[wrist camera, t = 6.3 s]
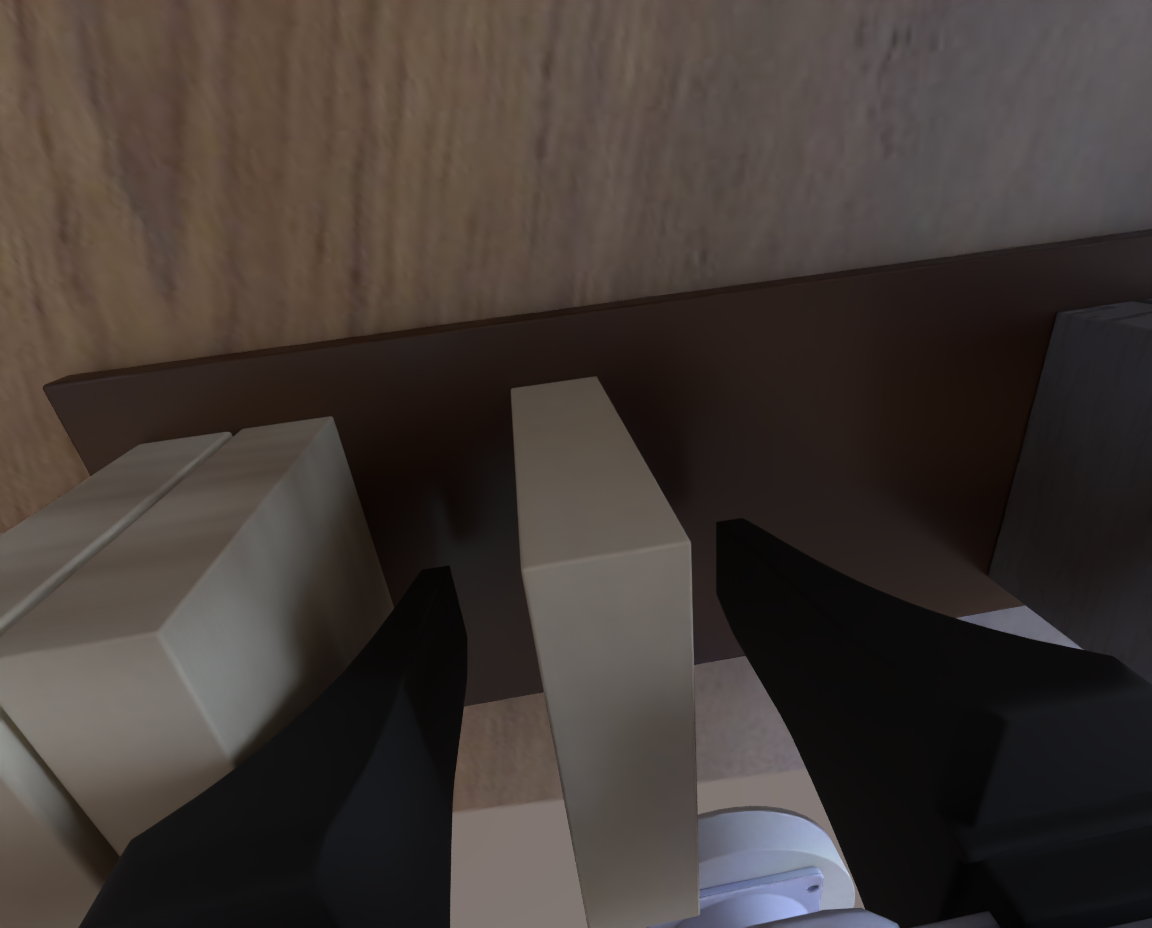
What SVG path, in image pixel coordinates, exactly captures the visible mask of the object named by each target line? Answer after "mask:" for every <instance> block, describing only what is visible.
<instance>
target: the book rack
mask: <svg viewBox="0 0 1152 928" xmlns="http://www.w3.org/2000/svg"><path fill="white" fill-rule="evenodd" d="M594 376H595V377H597V378H598V380H599V382H600V384H601V385H602V387H603V389H604V391H605V392H606V394H607V396H608V398H609V399H610V401H611V403H612V405H613V406H614V408H615V410H616V412H617V413H618V415H619V417H620V419H621V420H622V422H623V424H624V426H625V427H626V429H627V431H628V433H629V434H630V436H631V438H632V440H633V441H634V443H635V445H636V447H637V449H638V450H639V452H640V454H641V456H642V457H643V459H644V461H645V463H646V464H647V466H648V468H649V470H650V471H651V473H652V475H653V477H654V478H655V480H656V482H657V484H658V485H659V487H660V489H661V491H662V492H663V494H664V496H665V498H666V499H667V501H668V503H669V505H670V506H671V508H672V510H673V512H674V514H675V515H676V517H677V519H678V521H679V522H680V524H681V526H682V528H683V529H684V531H685V533H686V535H687V536H688V538H689V540H690V542H691V564H692V606H693V648H694V665H697V664H702V663H708V662H714V661H719V660H725V659H730V658H736V657H741V656H746V655H745V654H744V652H743V650H742V648H741V647H740V645H739V643H738V641H737V640H736V638H735V636H734V634H733V633H732V631H731V628H730V626H729V624H728V621H727V619H726V617H725V614H724V612H723V609H722V607H721V604H720V602H719V599H718V597H717V594H716V522H719V521H726V520H732V519H738V518H743V519H745V520H747V521H749V522H751V523H753V524H755V525H756V526H758V527H760V528H762V529H763V530H765V531H767V532H768V533H770V534H772V535H774V536H775V537H777V538H779V539H780V540H782V541H784V542H785V543H787V544H789V545H791V546H792V547H794V548H796V549H798V550H799V551H801V552H803V553H805V554H807V555H808V556H810V557H812V558H814V559H816V560H817V561H819V562H821V563H823V564H825V565H827V566H829V567H831V568H833V569H835V570H837V571H839V572H841V573H843V574H845V575H847V576H849V577H851V578H853V579H855V580H857V581H859V582H861V583H864V584H866V585H868V586H870V587H873V588H875V589H877V590H880V591H882V592H885V593H887V594H890V595H892V596H894V597H897V598H899V599H902V600H904V601H907V602H909V603H912V604H915V605H918V606H920V607H923V608H926V609H929V610H932V611H935V612H938V613H941V614H944V615H947V616H950V617H953V618H958V617H963V616H969V615H974V614H980V613H985V612H991V611H997V610H1002V609H1008V608H1013V607H1019V606H1024V605H1026V606H1027V607H1028V608H1030V609H1031V610H1032V611H1034V612H1035V613H1036V614H1038V615H1039V616H1040V617H1042V618H1043V619H1044V620H1046V621H1047V622H1048V623H1049V624H1051V625H1052V626H1053V627H1055V628H1056V629H1057V630H1059V631H1060V632H1061V633H1063V634H1064V635H1065V636H1067V637H1068V638H1069V639H1071V640H1072V641H1073V642H1075V643H1076V644H1077V645H1078V646H1080V647H1081V648H1082V649H1084V650H1086V651H1091V652H1096V653H1101V654H1106V655H1111V656H1114V657H1115V658H1117V659H1118V660H1119V661H1121V662H1122V663H1124V664H1125V665H1126V666H1128V667H1129V668H1130V669H1132V670H1133V671H1134V672H1136V673H1137V674H1138V675H1140V676H1141V677H1143V678H1144V679H1145V680H1147V681H1148V682H1149V683H1151V684H1152V229H1150V230H1142V231H1135V232H1127V233H1120V234H1113V235H1105V236H1098V237H1090V238H1083V239H1076V240H1068V241H1061V242H1053V243H1046V244H1039V245H1031V246H1024V247H1016V248H1009V249H1002V250H994V251H987V252H979V253H972V254H965V255H957V256H950V257H942V258H935V259H928V260H920V261H913V262H905V263H898V264H891V265H883V266H876V267H868V268H861V269H854V270H846V271H839V272H832V273H824V274H817V275H809V276H802V277H795V278H787V279H780V280H772V281H765V282H758V283H750V284H743V285H735V286H728V287H721V288H713V289H706V290H698V291H691V292H684V293H676V294H669V295H661V296H654V297H647V298H639V299H632V300H624V301H617V302H610V303H602V304H595V305H587V306H580V307H573V308H565V309H558V310H550V311H543V312H536V313H528V314H521V315H513V316H506V317H499V318H491V319H484V320H476V321H469V322H462V323H454V324H447V325H439V326H432V327H425V328H417V329H410V330H402V331H395V332H388V333H380V334H373V335H365V336H358V337H351V338H343V339H336V340H329V341H321V342H314V343H306V344H299V345H292V346H284V347H277V348H269V349H262V350H255V351H247V352H240V353H232V354H225V355H218V356H210V357H203V358H195V359H188V360H181V361H173V362H166V363H158V364H151V365H144V366H136V367H129V368H121V369H114V370H107V371H99V372H92V373H84V374H77V375H70V376H66V377H63V378H61V379H58V380H55V381H53V382H50V383H48V384H45V385H44V386H43V390H44V392H45V394H46V396H47V398H48V399H49V401H50V403H51V405H52V407H53V408H54V410H55V412H56V414H57V416H58V418H59V419H60V421H61V423H62V425H63V427H64V428H65V430H66V432H67V434H68V436H69V438H70V439H71V441H72V443H73V445H74V447H75V448H76V450H77V452H78V454H79V456H80V458H81V459H82V461H83V463H84V465H85V467H86V468H87V470H88V472H89V474H90V477H89V478H87V479H86V480H84V481H83V482H81V483H80V484H78V485H77V486H75V487H74V488H72V489H71V490H69V491H67V492H66V493H64V494H63V495H61V496H60V497H58V498H57V499H55V500H54V501H52V502H51V503H49V504H48V505H46V506H45V507H43V508H42V509H40V510H39V511H37V512H35V513H34V514H32V515H31V516H29V517H28V518H26V519H25V520H23V521H22V522H20V523H19V524H17V525H16V526H14V527H13V528H11V529H10V530H8V531H7V532H5V533H4V534H2V535H0V928H79V926H80V924H81V922H82V921H83V919H84V917H85V916H86V914H87V912H88V910H89V909H90V907H91V905H92V904H93V902H94V900H95V898H96V897H97V895H98V893H99V892H100V890H101V888H102V887H103V885H104V883H105V881H106V880H107V878H108V876H109V875H110V873H111V871H112V870H113V868H114V866H115V865H116V863H117V861H118V860H119V858H120V856H121V855H122V853H123V851H124V850H125V848H126V847H127V845H128V844H129V842H130V840H131V839H133V838H135V837H136V836H138V835H139V834H141V833H143V832H144V831H146V830H147V829H149V828H150V827H152V826H153V825H155V824H156V823H158V822H159V821H161V820H162V819H164V818H165V817H167V816H168V815H170V814H171V813H173V812H174V811H176V810H177V809H179V808H180V807H182V806H183V805H185V804H186V803H188V802H189V801H191V800H192V799H194V798H195V797H197V796H198V795H199V794H201V793H202V792H204V791H205V790H206V789H208V788H209V787H211V786H212V785H213V784H215V783H216V782H218V781H219V780H220V779H222V778H223V777H224V776H226V775H227V774H228V773H230V772H231V771H232V770H234V769H235V768H236V767H238V766H239V765H240V764H242V763H243V762H244V761H245V760H247V759H248V758H249V757H250V756H252V755H253V754H254V753H255V752H257V751H258V750H259V749H261V748H262V747H263V746H264V745H265V744H267V743H268V742H269V741H270V740H271V739H272V738H274V737H275V736H276V735H277V734H278V733H279V732H280V731H282V730H283V729H284V728H285V727H286V726H287V725H288V724H289V723H291V722H292V721H293V720H294V719H295V718H296V717H297V716H299V715H300V714H301V713H302V712H303V711H304V710H305V709H307V708H308V707H309V706H310V705H311V704H312V703H313V702H314V701H315V700H316V699H317V698H318V697H319V696H320V695H321V694H322V693H323V692H324V691H325V690H326V689H327V688H328V687H329V686H330V685H331V684H332V683H333V682H334V681H335V680H336V679H337V678H338V677H339V676H340V674H341V673H342V672H343V671H344V670H345V669H346V668H347V667H348V666H349V665H350V663H351V662H352V661H353V660H354V659H355V657H356V656H357V655H358V654H359V653H360V651H361V650H362V649H363V648H364V647H365V645H366V644H367V643H368V642H369V641H370V639H371V638H372V637H373V636H374V634H375V633H376V632H377V630H378V629H379V628H380V626H381V625H382V624H383V622H384V621H385V620H386V619H387V617H388V616H389V615H390V613H391V612H392V611H393V609H394V608H395V606H396V605H397V604H398V602H399V601H400V599H401V598H402V597H403V595H404V594H405V592H406V591H407V589H408V588H409V587H410V585H411V584H412V582H413V581H414V580H415V578H416V577H417V576H418V574H419V573H420V572H421V570H423V569H429V568H436V567H442V566H448V565H450V569H451V573H452V577H453V581H454V585H455V589H456V593H457V597H458V601H459V605H460V609H461V613H462V617H463V621H464V625H465V628H466V632H467V647H468V664H467V685H466V693H465V701H464V706H469V705H475V704H480V703H486V702H492V701H497V700H503V699H508V698H514V697H519V696H525V695H530V694H536V693H542V692H544V690H543V685H542V680H541V674H540V669H539V664H538V658H537V653H536V648H535V642H534V637H533V632H532V626H531V621H530V616H529V610H528V605H527V600H526V594H525V589H524V584H523V578H522V573H521V561H520V544H519V526H518V509H517V491H516V474H515V456H514V439H513V422H512V404H511V389H512V388H518V387H525V386H532V385H539V384H546V383H553V382H560V381H567V380H574V379H581V378H588V377H594Z"/></svg>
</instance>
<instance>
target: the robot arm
mask: <svg viewBox="0 0 1152 928" xmlns="http://www.w3.org/2000/svg"><path fill="white" fill-rule="evenodd" d="M716 594H717V597H718V599H719V602H720V604H721V607H722V609H723V612H724V614H725V617H726V619H727V621H728V624H729V626H730V628H731V631H732V633H733V634H734V636H735V638H736V640H737V641H738V643H739V645H740V647H741V648H742V650H743V652H744V654H745V655H746V657H747V659H748V661H749V662H750V664H751V666H752V667H753V669H754V671H755V672H756V674H757V676H758V678H759V679H760V681H761V683H762V684H763V686H764V688H765V689H766V691H767V693H768V695H769V696H770V698H771V700H772V701H773V703H774V705H775V707H776V708H777V710H778V712H779V713H780V715H781V717H782V719H783V721H784V723H785V724H786V726H787V728H788V730H789V732H790V734H791V736H792V738H793V740H794V742H795V745H796V747H797V749H798V751H799V753H800V756H801V758H802V760H803V762H804V764H805V766H806V769H807V771H808V773H809V775H810V777H811V779H812V782H813V784H814V786H815V789H816V791H817V793H818V796H819V798H820V800H821V802H822V805H823V807H824V809H825V812H826V814H827V816H828V818H829V821H830V823H831V826H832V828H833V830H834V833H835V835H836V838H837V840H838V842H839V845H840V847H841V850H842V852H843V855H844V857H845V859H846V862H847V864H848V867H849V869H850V872H851V874H852V876H853V879H854V881H855V884H856V886H857V889H858V891H859V894H860V897H861V899H862V902H863V904H864V907H865V909H863V908H850V909H833V910H822V911H819V908H820V901H821V894H822V887H823V880H824V878H823V875H822V873H821V871H820V869H819V868H817V867H814V866H812V867H806V868H801V869H796V870H792V871H787V872H782V873H777V874H772V875H767V876H763V877H758V878H753V879H748V880H743V881H738V882H734V883H729V884H724V885H719V886H714V887H710V888H705V889H700V890H699V898H700V915H699V916H696V917H691V918H686V919H682V920H677V921H672V922H667V923H663V924H658V925H653V926H648V928H1152V684H1151V683H1149V682H1148V681H1147V680H1145V679H1144V678H1143V677H1141V676H1140V675H1138V674H1137V673H1136V672H1134V671H1133V670H1132V669H1130V668H1129V667H1128V666H1126V665H1125V664H1124V663H1122V662H1121V661H1119V660H1118V659H1117V658H1115V657H1114V656H1111V655H1106V654H1101V653H1096V652H1091V651H1086V650H1081V649H1076V648H1071V647H1066V646H1061V645H1056V644H1051V643H1046V642H1041V641H1037V640H1033V639H1029V638H1025V637H1021V636H1017V635H1013V634H1009V633H1005V632H1001V631H997V630H993V629H990V628H986V627H983V626H979V625H976V624H972V623H969V622H966V621H962V620H959V619H956V618H953V617H950V616H947V615H944V614H941V613H938V612H935V611H932V610H929V609H926V608H923V607H920V606H918V605H915V604H912V603H909V602H907V601H904V600H902V599H899V598H897V597H894V596H892V595H890V594H887V593H885V592H882V591H880V590H877V589H875V588H873V587H870V586H868V585H866V584H864V583H861V582H859V581H857V580H855V579H853V578H851V577H849V576H847V575H845V574H843V573H841V572H839V571H837V570H835V569H833V568H831V567H829V566H827V565H825V564H823V563H821V562H819V561H817V560H816V559H814V558H812V557H810V556H808V555H807V554H805V553H803V552H801V551H799V550H798V549H796V548H794V547H792V546H791V545H789V544H787V543H785V542H784V541H782V540H780V539H779V538H777V537H775V536H774V535H772V534H770V533H768V532H767V531H765V530H763V529H762V528H760V527H758V526H756V525H755V524H753V523H751V522H749V521H747V520H745V519H743V518H738V519H732V520H726V521H719V522H716ZM467 664H468V647H467V632H466V628H465V625H464V621H463V617H462V613H461V609H460V605H459V601H458V597H457V593H456V589H455V585H454V581H453V577H452V573H451V569H450V565H448V566H442V567H436V568H429V569H423V570H421V572H420V573H419V574H418V576H417V577H416V578H415V580H414V581H413V582H412V584H411V585H410V587H409V588H408V589H407V591H406V592H405V594H404V595H403V597H402V598H401V599H400V601H399V602H398V604H397V605H396V606H395V608H394V609H393V611H392V612H391V613H390V615H389V616H388V617H387V619H386V620H385V621H384V622H383V624H382V625H381V626H380V628H379V629H378V630H377V632H376V633H375V634H374V636H373V637H372V638H371V639H370V641H369V642H368V643H367V644H366V645H365V647H364V648H363V649H362V650H361V651H360V653H359V654H358V655H357V656H356V657H355V659H354V660H353V661H352V662H351V663H350V665H349V666H348V667H347V668H346V669H345V670H344V671H343V672H342V673H341V674H340V676H339V677H338V678H337V679H336V680H335V681H334V682H333V683H332V684H331V685H330V686H329V687H328V688H327V689H326V690H325V691H324V692H323V693H322V694H321V695H320V696H319V697H318V698H317V699H316V700H315V701H314V702H313V703H312V704H311V705H310V706H309V707H308V708H307V709H305V710H304V711H303V712H302V713H301V714H300V715H299V716H297V717H296V718H295V719H294V720H293V721H292V722H291V723H289V724H288V725H287V726H286V727H285V728H284V729H283V730H282V731H280V732H279V733H278V734H277V735H276V736H275V737H274V738H272V739H271V740H270V741H269V742H268V743H267V744H265V745H264V746H263V747H262V748H261V749H259V750H258V751H257V752H255V753H254V754H253V755H252V756H250V757H249V758H248V759H247V760H245V761H244V762H243V763H242V764H240V765H239V766H238V767H236V768H235V769H234V770H232V771H231V772H230V773H228V774H227V775H226V776H224V777H223V778H222V779H220V780H219V781H218V782H216V783H215V784H213V785H212V786H211V787H209V788H208V789H206V790H205V791H204V792H202V793H201V794H199V795H198V796H197V797H195V798H194V799H192V800H191V801H189V802H188V803H186V804H185V805H183V806H182V807H180V808H179V809H177V810H176V811H174V812H173V813H171V814H170V815H168V816H167V817H165V818H164V819H162V820H161V821H159V822H158V823H156V824H155V825H153V826H152V827H150V828H149V829H147V830H146V831H144V832H143V833H141V834H139V835H138V836H136V837H135V838H133V839H131V840H130V842H129V844H128V845H127V847H126V848H125V850H124V851H123V853H122V855H121V856H120V858H119V860H118V861H117V863H116V865H115V866H114V868H113V870H112V871H111V873H110V875H109V876H108V878H107V880H106V881H105V883H104V885H103V887H102V888H101V890H100V892H99V893H98V895H97V897H96V898H95V900H94V902H93V904H92V905H91V907H90V909H89V910H88V912H87V914H86V916H85V917H84V919H83V921H82V922H81V924H80V926H79V928H450V884H451V883H450V882H451V838H452V808H453V791H454V779H455V771H456V763H457V755H458V748H459V740H460V732H461V725H462V717H463V709H464V701H465V693H466V685H467Z"/></svg>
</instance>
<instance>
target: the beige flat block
mask: <svg viewBox="0 0 1152 928" xmlns="http://www.w3.org/2000/svg"><path fill="white" fill-rule="evenodd" d="M511 404H512V422H513V439H514V456H515V474H516V491H517V509H518V526H519V544H520V561H521V573H522V578H523V584H524V589H525V594H526V600H527V605H528V610H529V616H530V621H531V626H532V632H533V637H534V642H535V648H536V653H537V658H538V664H539V669H540V674H541V680H542V685H543V690H544V696H545V701H546V706H547V712H548V717H549V722H550V728H551V733H552V738H553V744H554V749H555V754H556V760H557V765H558V770H559V776H560V781H561V786H562V792H563V797H564V802H565V808H566V813H567V818H568V824H569V829H570V834H571V839H572V845H573V850H574V856H575V861H576V866H577V872H578V877H579V882H580V887H581V893H582V898H583V904H584V909H585V914H586V920H587V925H588V928H644V927H648V926H653V925H658V924H663V923H667V922H672V921H677V920H682V919H686V918H691V917H696V916H699V915H700V898H699V856H698V814H697V773H696V731H695V689H694V648H693V606H692V564H691V542H690V540H689V538H688V536H687V535H686V533H685V531H684V529H683V528H682V526H681V524H680V522H679V521H678V519H677V517H676V515H675V514H674V512H673V510H672V508H671V506H670V505H669V503H668V501H667V499H666V498H665V496H664V494H663V492H662V491H661V489H660V487H659V485H658V484H657V482H656V480H655V478H654V477H653V475H652V473H651V471H650V470H649V468H648V466H647V464H646V463H645V461H644V459H643V457H642V456H641V454H640V452H639V450H638V449H637V447H636V445H635V443H634V441H633V440H632V438H631V436H630V434H629V433H628V431H627V429H626V427H625V426H624V424H623V422H622V420H621V419H620V417H619V415H618V413H617V412H616V410H615V408H614V406H613V405H612V403H611V401H610V399H609V398H608V396H607V394H606V392H605V391H604V389H603V387H602V385H601V384H600V382H599V380H598V378H597V377H595V376H594V377H588V378H581V379H574V380H567V381H560V382H553V383H546V384H539V385H532V386H525V387H518V388H512V389H511Z"/></svg>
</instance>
